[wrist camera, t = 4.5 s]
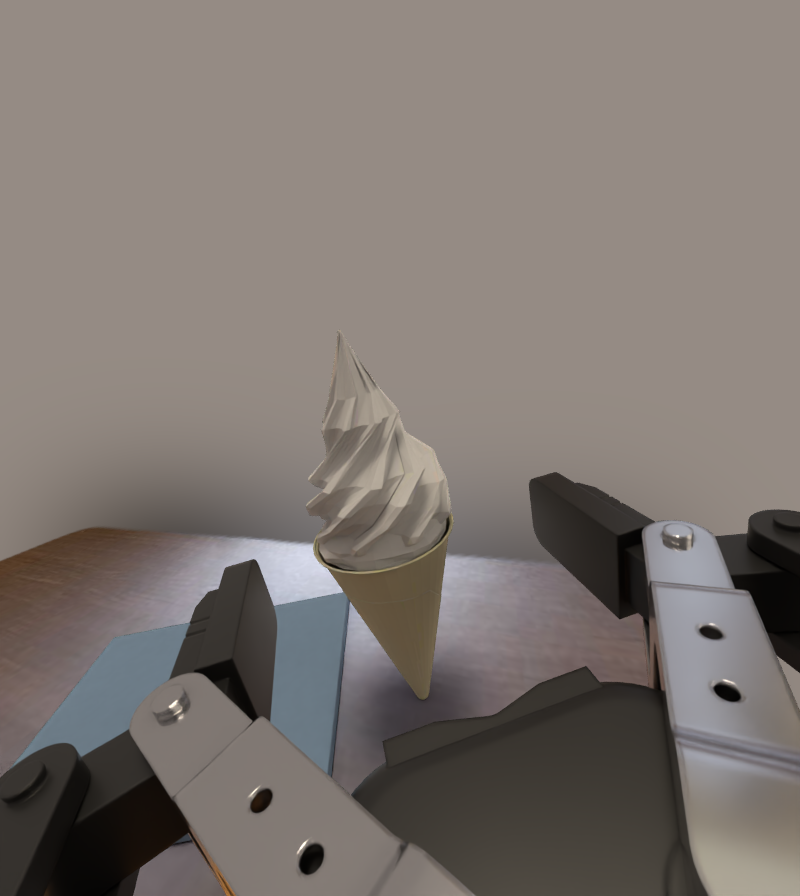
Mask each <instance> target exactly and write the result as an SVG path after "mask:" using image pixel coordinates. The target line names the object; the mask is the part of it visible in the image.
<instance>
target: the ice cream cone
mask: <svg viewBox="0 0 800 896" xmlns="http://www.w3.org/2000/svg"><path fill="white" fill-rule="evenodd" d="M337 333H338V336H337V346H336V353H335V359H334V366H333V373H332V380H331V387H330V393H329V400H328V404H327V407H326V411H325V414H324V417H323V421H322V423H324V425H323V428H322V434H323V438H324V441H325V445H326V458H325V459H324V461H323V462H322V463H321V464H320V465H319V466H318V467H317V469H316V470H315V471H314V472H313V473H312V474H311V475H310V476H309V482H310V483H312V484H313V485H315V486H316V487H319V488H322V489H323V491H322V492H321V493H320V494H318V495H317V496H316V497H314V498H313V499H312V500H311V501H309V502H308V503H307V506H306V508H307V510H308V513H309V515H310V516H321V518H322V519H324V520H326V522H325V524H324V525H323V528H322V529H321V531H320V532H319V533H318V535H317V536H316V539H315V541H314V546H313V551H314V555H315V557H316V559H317V560H318V562H319V563H321V564H322V565H323V566H324V567H326V568H328V570H329V571H330V572H331V574H332V575H333V577H334V578H335V580H336V581H337V582H338V584H339V585H340V587H341V588H342V590H343V592H344V593H345V595H346V596H347V597H348V599H349V600H350V602H351V603H352V605H353V606H354V607H355V609H356V610H357V612H358V613H359V614H360V616H361V617H362V619H363V620H364V622H365V623H366V624H367V626H368V627H369V629H370V630H371V632H372V633H373V634H374V636H375V637H376V639H377V640H378V641H379V643H380V644H381V646H382V647H383V649H384V650H385V651H386V653H387V654H388V656H389V657H390V659H391V660H392V661H393V663H394V664H395V666H396V667H397V668H398V670H399V671H400V673H401V674H402V676H403V677H404V678H405V680H406V681H407V683H408V684H409V686H410V687H411V688H412V690H413V691H414V693H415V694H416V695H417V697H418V698H419V699H421V700H424V699H426V698H427V697H428V696H429V689H430V681H431V673H432V665H433V657H434V649H435V641H436V633H437V625H438V617H439V609H440V602H441V590H442V582H443V574H444V566H445V558H446V550H447V542H448V536H449V534H450V532H451V531H452V527H453V515H452V513H451V502H450V496H449V490H448V484H447V479H446V476H445V474H444V472H443V470H442V469H441V467H440V465H439V463H438V460H437V457H436V455H435V452H434V450H433V449H432V448H430V447H429V446H427V445H426V444H424V443H422V442H421V441H419V440H417V439H416V438H414V437H412V436H411V435H409V434H408V433H407V432H405V430H404V428H403V425H402V422H401V419H400V416H399V411H398V409H397V408H396V406H395V405H394V404H393V403H392V402H391V401H390V400H389V399H388V397H387V396H386V395H385V394H384V393H383V391H382V390H381V389H380V388H379V386H378V385H377V384H376V382H375V381H374V379H373V378H372V377H371V375H370V374H369V372H368V371H367V369H366V368H365V367H364V365H363V364H362V362H361V361H360V360H359V358H358V357H357V355H356V354H355V352H354V351H353V350H352V348H351V347H350V345H349V344H348V342H347V340H346V339H345V337H344V335H343V334H342V332H341V331H340V330H339V331H337Z"/></svg>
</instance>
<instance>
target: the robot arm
mask: <svg viewBox="0 0 800 896" xmlns="http://www.w3.org/2000/svg"><path fill="white" fill-rule="evenodd" d="M529 491H530V500H531V509H532V519H533V527H534V531H535V534H536V536H537V538H538V540H539V542H540V544H541V545H542V546H543V547H544V548H545V549H546V550H547V551H548V552H549V553H550V554H551V555H552V556H553V557H555V558H556V559H557V560H558V561H559V562H560V563H561V564H562V565H563V566H564V567H565V568H566V569H567V570H568V571H569V572H570V573H571V574H572V575H573V576H575V577H576V578H577V579H578V580H579V581H580V582H581V583H582V584H583V585H584V586H585V587H586V588H587V589H588V590H589V591H590V592H591V593H592V594H594V595H595V596H596V597H597V598H598V599H599V600H600V601H601V602H602V603H603V604H604V605H605V606H606V607H607V608H608V609H609V610H610V611H611V612H613V613H614V614H615V615H616V616H617V617H618V618H619V619H622V618H625V617H628V616H630V615H633V614H636V613H639V614H640V615H641V616H642V617H643V636H644V646H645V656H646V667H647V677H648V687H647V686H642V685H637V684H632V683H623V682H599V681H598V680H597V679H596V677H595V676H594V675H593V674H592V672H591V671H590V670H589V669H588V668H587V666H585V667H582V668H580V669H577V670H574V671H572V672H569V673H566V674H564V675H561V676H558V677H555V678H553V679H550V680H547V681H545V682H542V683H539V684H538V685H536V686H535V687H533V688H532V689H531V690H529V691H528V692H527V693H525V694H524V695H522V696H521V697H520V698H518V699H517V700H515V701H514V702H513V703H511V704H510V705H508V706H507V707H506V708H504V709H503V710H501V711H500V712H498V713H497V714H495V715H491V716H485V717H475V718H466V719H456V720H447V721H438V722H433V723H431V724H428V725H425V726H422V727H420V728H417V729H414V730H412V731H409V732H406V733H404V734H401V735H398V736H395V737H393V738H390V739H387V740H385V741H382V742H383V747H384V752H385V757H386V762H385V763H383V764H382V765H380V766H379V767H378V768H376V769H375V770H374V771H373V772H372V773H371V774H370V775H369V776H367V777H366V778H365V779H364V780H363V782H362V783H361V784H360V785H359V786H358V787H357V788H356V789H355V790H354V792H353V793H352V794H351V795H350V794H349V793H348V792H346V791H345V790H344V789H343V788H342V787H341V786H340V785H339V784H338V783H337V782H335V781H334V780H333V779H332V778H331V777H330V776H329V775H328V774H327V773H326V772H324V771H323V770H322V769H321V768H320V767H319V766H318V765H317V764H316V763H315V762H313V761H312V760H311V759H310V758H309V757H308V756H307V755H306V754H305V753H304V752H302V751H301V750H300V749H299V748H298V747H297V746H296V745H295V744H294V743H293V742H291V741H290V740H289V739H288V738H287V737H286V736H285V735H284V734H283V733H282V732H280V731H279V730H278V729H277V728H276V727H275V726H274V725H273V724H272V723H271V722H270V718H271V706H272V693H273V680H274V667H275V655H276V642H277V618H276V612H275V609H274V605H273V602H272V600H271V597H270V594H269V592H268V589H267V586H266V583H265V581H264V578H263V575H262V573H261V570H260V567H259V565H258V563H257V561H256V560H255V559H253V560H249V561H246V562H243V563H239V564H236V565H232V566H229V567H226V568H225V570H224V573H223V576H222V579H221V583H220V586H219V589H217V590H213V591H210V592H208V593H207V594H206V595H205V597H204V598H203V599H202V600H201V601H200V603H199V604H198V605H197V606H196V607H195V610H194V613H193V615H192V618H191V621H190V625H189V626H188V629H187V632H186V634H185V636H186V638H184V640H183V643H182V645H181V648H180V651H179V654H178V656H177V659H176V662H175V664H174V667H173V670H172V673H171V675H170V678H169V680H168V681H167V682H165V683H163V684H162V685H160V686H159V687H157V688H156V689H155V690H154V691H152V692H151V693H150V694H149V695H148V696H147V697H146V698H145V699H144V700H143V701H142V702H141V703H140V705H139V706H138V707H137V709H136V710H135V712H134V714H133V716H132V718H131V721H130V726H129V729H128V730H127V731H125V732H123V733H122V734H120V735H118V736H117V737H115V738H113V739H111V740H110V741H108V742H106V743H104V744H103V745H101V746H99V747H97V748H96V749H94V750H92V751H91V752H89V753H87V754H85V755H84V756H82V757H81V756H80V754H79V753H78V751H77V750H76V748H75V747H74V746H73V745H72V744H69V743H57V744H53V745H50V746H47V747H44V748H42V749H40V750H38V751H36V752H34V753H32V754H31V755H29V756H27V757H26V758H24V759H23V760H21V761H20V762H19V763H17V764H16V765H14V766H13V767H12V768H11V769H10V770H8V771H7V772H6V773H5V774H4V775H3V776H2V777H1V778H0V896H133V893H134V889H135V885H136V881H137V877H138V873H139V869H140V867H142V866H143V865H144V864H146V863H147V862H149V861H150V860H151V859H153V858H154V857H156V856H157V855H158V854H160V853H161V852H163V851H164V850H165V849H167V848H168V847H169V846H171V845H172V844H174V843H175V842H176V841H178V840H179V839H181V838H182V837H183V836H185V835H186V834H189V836H190V837H191V839H192V841H193V842H194V844H195V845H196V847H197V849H198V850H199V852H200V853H201V855H202V856H203V858H204V860H205V861H206V863H207V864H208V866H209V868H210V869H211V871H212V872H213V874H214V876H215V877H216V879H217V880H218V882H219V884H220V885H221V887H222V888H223V890H224V892H225V893H226V895H227V896H800V710H799V708H798V706H797V703H796V701H795V698H794V696H793V693H792V691H791V689H790V687H789V684H788V682H787V679H786V677H785V674H784V672H783V670H782V667H781V665H780V663H779V660H778V658H777V656H778V657H780V658H781V659H782V660H784V661H785V662H786V663H787V664H789V665H790V666H791V667H793V668H794V669H795V670H797V671H798V672H799V673H800V512H797V511H790V510H765V511H760V512H757V513H755V514H753V515H751V516H750V518H749V522H748V533H747V534H736V535H725V536H714V535H713V534H712V533H711V532H710V531H709V530H707V529H705V528H703V527H701V526H699V525H696V524H693V523H689V522H684V521H676V520H665V521H658V522H655V521H653V520H651V519H649V518H647V517H646V516H644V515H642V514H641V513H639V512H637V511H635V510H634V509H632V508H630V507H629V506H627V505H625V504H623V503H622V504H621V503H620V501H618V500H617V499H615V498H613V497H609V495H608V494H606V493H604V492H603V491H601V490H599V489H597V488H595V487H592V486H588V485H585V484H581V483H574V482H572V481H571V480H569V479H567V478H566V477H564V476H562V475H561V474H559V473H557V472H554V473H550V474H547V475H544V476H540V477H537V478H534V479H531V481H530V483H529ZM776 655H777V656H776Z"/></svg>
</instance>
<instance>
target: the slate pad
mask: <svg viewBox="0 0 800 896" xmlns="http://www.w3.org/2000/svg"><path fill="white" fill-rule="evenodd" d="M349 601H350V600H349V599H348V597H347V596H346V595H345V593H344V592H343V593H338V594H333V595H328V596H322V597H317V598H312V599H307V600H302V601H297V602H292V603H287V604H282V605H277V606H274V609H275V612H276V618H277V642H276V655H275V667H274V680H273V693H272V706H271V718H270V722H271V723H272V724H273V725H274V726H275V727H276V728H277V729H278V730H279V731H280V732H282V733H283V734H284V735H285V736H286V737H287V738H288V739H289V740H290V741H291V742H293V743H294V744H295V745H296V746H297V747H298V748H299V749H300V750H301V751H302V752H304V753H305V754H306V755H307V756H308V757H309V758H310V759H311V760H312V761H313V762H315V763H316V764H317V765H318V766H319V767H320V768H321V769H322V770H323V771H324V772H326V773H327V774H328V775H329V776H330V777H331V775H332V765H333V756H334V746H335V736H336V727H337V717H338V707H339V698H340V688H341V678H342V669H343V659H344V649H345V639H346V630H347V620H348V610H349ZM189 625H190V623H185V624H180V625H175V626H170V627H165V628H160V629H155V630H150V631H145V632H139V633H134V634H129V635H124V636H119V637H115V638H113V640H112V641H111V642H110V643H109V645H108V646H107V647H106V648H105V650H104V651H103V652H102V653H101V655H100V656H99V657H98V658H97V660H96V661H95V662H94V664H93V665H92V666H91V667H90V669H89V670H88V671H87V672H86V674H85V675H84V676H83V677H82V679H81V680H80V681H79V682H78V684H77V685H76V686H75V687H74V689H73V690H72V691H71V693H70V694H69V695H68V696H67V698H66V699H65V700H64V701H63V703H62V704H61V705H60V706H59V708H58V709H57V710H56V711H55V713H54V714H53V715H52V716H51V718H50V719H49V720H48V722H47V723H46V724H45V725H44V727H43V728H42V729H41V730H40V732H39V733H38V734H37V735H36V737H35V738H34V739H33V740H32V742H31V743H30V744H29V745H28V747H27V748H26V749H25V751H24V752H23V753H22V754H21V756H20V757H19V758H18V759H17V761H16V762H15V763H14V764H13V766H14V765H16V764H17V763H19V762H20V761H21V760H23V759H24V758H26V757H27V756H29V755H31V754H32V753H34V752H36V751H38V750H40V749H42V748H44V747H47V746H50V745H53V744H57V743H69V744H72V745H73V746H74V747H75V748H76V750H77V751H78V753H79V754H80V756H81V757H82V756H84V755H85V754H87V753H89V752H91V751H92V750H94V749H96V748H97V747H99V746H101V745H103V744H104V743H106V742H108V741H110V740H111V739H113V738H115V737H117V736H118V735H120V734H122V733H123V732H125V731H127V730H128V729H129V726H130V721H131V718H132V716H133V714H134V712H135V710H136V709H137V707H138V706H139V705H140V703H141V702H142V701H143V700H144V699H145V698H146V697H147V696H148V695H149V694H150V693H151V692H152V691H154V690H155V689H156V688H157V687H159V686H160V685H162V684H163V683H165V682H167V681H168V680H169V678H170V675H171V673H172V670H173V667H174V664H175V662H176V659H177V656H178V654H179V651H180V648H181V645H182V643H183V640H184V638H186V636H185V634H186V632H187V629H188V626H189ZM13 766H12V767H13ZM12 767H11V768H12ZM11 768H10V769H11ZM10 769H9V770H10ZM190 840H192V839H191V837H190V836H189V834H186V835H185V836H183V837H182V838H181V839H179V840H178V841H176V842H175V843H179V842H184V841H190Z"/></svg>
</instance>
